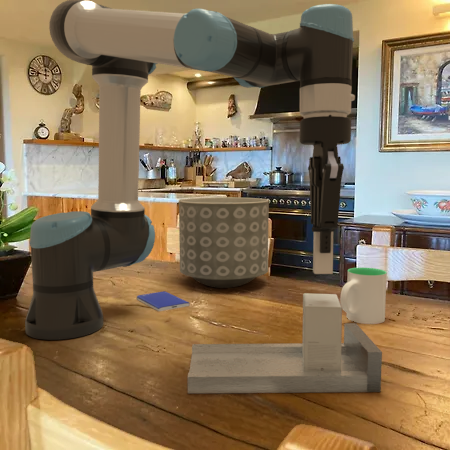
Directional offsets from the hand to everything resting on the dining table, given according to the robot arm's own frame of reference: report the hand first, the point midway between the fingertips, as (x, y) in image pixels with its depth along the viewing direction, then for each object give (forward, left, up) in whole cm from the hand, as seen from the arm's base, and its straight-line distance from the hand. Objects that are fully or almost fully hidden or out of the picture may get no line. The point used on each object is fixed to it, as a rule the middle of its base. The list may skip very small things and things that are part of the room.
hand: (322, 272), depth 74 cm
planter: (-15, +61, -17) cm, 65 cm away
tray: (-7, 0, -16) cm, 18 cm away
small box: (0, 0, -15) cm, 15 cm away
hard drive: (-30, +42, -17) cm, 54 cm away
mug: (+14, +27, -17) cm, 35 cm away
